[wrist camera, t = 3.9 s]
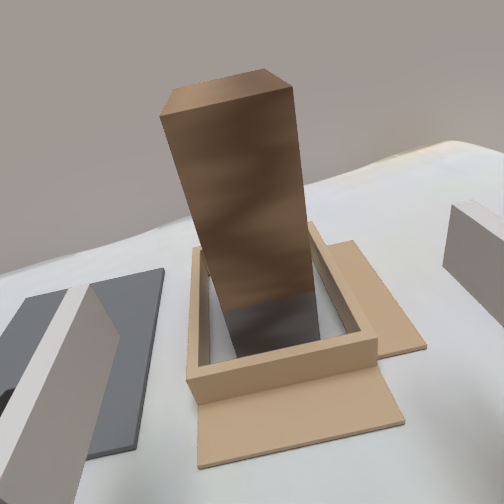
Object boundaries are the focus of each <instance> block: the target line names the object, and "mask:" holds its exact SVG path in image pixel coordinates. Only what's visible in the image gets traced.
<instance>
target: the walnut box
mask: <svg viewBox="0 0 504 504" xmlns="http://www.w3.org/2000/svg"><path fill="white" fill-rule="evenodd" d="M294 106H295V105H294V96H293V88H292V86H291V85H290V84H288V83H286V82H285V81H283V80H282V79H280V78H279V77H277V76H275V75H274V74H272V73H271V72H269V71H267V70H266V69H260V70H256V71H251V72H247V73H242V74H238V75H233V76H229V77H225V78H220V79H216V80H211V81H207V82H203V83H198V84H193V85H189V86H185V87H180V88H176V89H173V91H172V93H171V95H170V97H169V99H168V101H167V103H166V105H165V107H164V108H163V110H162V112H161V114H160V119H161V122H162V125H163V129H164V132H165V134H166V138H167V141H168V144H169V147H170V150H171V153H172V156H173V160H174V163H175V166H176V169H177V172H178V175H179V178H180V181H181V184H182V187H183V191H184V193H185V197H186V200H187V203H188V206H189V209H190V212H191V216H192V219H193V222H194V225H195V228H196V231H197V234H198V237H199V240H200V244H201V247H202V250H203V253H204V256H205V259H206V262H207V265H208V268H209V272H210V275H211V278H212V281H213V284H214V287H215V290H216V293H217V296H218V300H219V303H220V306H221V309H222V312H223V315H224V318H225V321H226V324H227V327H228V331H229V334H230V337H231V340H232V343H233V346H234V349H235V352H236V355H237V358H242V357H246V356H251V355H255V354H260V353H264V352H269V351H273V350H278V349H282V348H287V347H291V346H296V345H301V344H305V343H310V342H314V341H319V340H320V332H319V323H318V314H317V305H316V296H315V287H314V277H313V268H312V259H311V250H310V241H309V232H308V223H307V214H306V205H305V196H304V187H303V178H302V170H301V160H300V151H299V142H298V132H297V124H296V115H295V107H294Z"/></svg>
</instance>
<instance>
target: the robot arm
mask: <svg viewBox="0 0 504 504" xmlns="http://www.w3.org/2000/svg"><path fill="white" fill-rule="evenodd" d="M443 267H444V268H445V269H446V270H447V271H448V272H449V273H450V274H451V275H452V276H453V277H454V278H455V279H456V280H457V281H458V282H459V283H460V284H461V285H462V286H463V287H464V288H465V289H466V290H467V291H468V292H469V293H470V294H471V295H472V296H473V297H474V298H475V299H476V300H477V301H478V302H479V303H480V304H481V305H482V306H483V307H484V308H485V309H486V310H487V311H488V312H489V313H490V314H491V315H492V316H493V317H494V318H495V319H496V320H497V321H498V322H499V323H500V324H501V325H502V326H503V327H504V219H503V218H502V217H500V216H498V215H497V214H495V213H494V212H492V211H491V210H489V209H487V208H486V207H484V206H483V205H481V204H480V203H478V202H476V201H475V200H469V201H464V202H460V203H455V204H452V207H451V214H450V220H449V227H448V233H447V240H446V246H445V253H444V259H443ZM119 339H120V335H119V333H118V331H117V330H116V328H115V326H114V324H113V323H112V321H111V319H110V317H109V316H108V314H107V312H106V311H105V309H104V307H103V305H102V304H101V302H100V300H99V299H98V297H97V295H96V293H95V292H94V290H93V288H92V286H91V285H90V284H85V285H81V286H76V287H71V288H69V289H68V291H67V293H66V294H65V296H64V298H63V300H62V302H61V304H60V306H59V308H58V309H57V311H56V313H55V315H54V317H53V319H52V321H51V323H50V325H49V326H48V328H47V330H46V332H45V334H44V336H43V338H42V340H41V342H40V343H39V345H38V347H37V349H36V351H35V353H34V355H33V357H32V358H31V360H30V362H29V364H28V366H27V368H26V370H25V372H24V374H23V375H22V377H21V379H20V381H19V383H18V385H17V387H16V388H13V389H8V390H6V391H5V392H4V393H3V394H2V395H1V396H0V504H73V503H74V500H75V496H76V493H77V489H78V486H79V482H80V478H81V475H82V471H83V468H84V464H85V461H86V457H87V453H88V450H89V446H90V443H91V439H92V436H93V432H94V428H95V425H96V421H97V418H98V414H99V411H100V407H101V403H102V400H103V396H104V393H105V389H106V386H107V382H108V378H109V375H110V371H111V368H112V364H113V360H114V357H115V353H116V350H117V346H118V343H119Z"/></svg>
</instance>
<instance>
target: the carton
mask: <svg viewBox="0 0 504 504" xmlns="http://www.w3.org/2000/svg"><path fill="white" fill-rule="evenodd" d="M307 223H308V232H309V241H310V250H311V257H312V259H313V261H314V263H315V265H316V267H317V270H318V272H319V274H320V276H321V278H322V280H323V282H324V284H325V286H326V289H327V291H328V293H329V295H330V297H331V299H332V301H333V303H334V305H335V308H336V310H337V312H338V314H339V316H340V318H341V320H342V322H343V324H344V327H345V329H346V331H347V333H348V334H346V335H341V336H337V337H332V338H328V339H323V340H319V341H314V342H310V343H305V344H301V345H296V346H291V347H287V348H282V349H278V350H273V351H269V352H264V353H260V354H255V355H251V356H246V357H242V358H237V359H233V360H228V361H224V362H219V363H215V364H210V346H209V291H208V275H210V272H209V268H208V265H207V262H206V259H205V256H204V253H203V250H202V247H201V246H198V247H194V248H193V250H192V269H191V289H190V308H189V328H188V347H187V367H186V381H187V383H188V386H189V388H190V390H191V392H192V394H193V396H194V398H195V400H196V402H197V405H198V436H197V467H198V469H202V468H207V467H211V466H216V465H221V464H225V463H230V462H234V461H239V460H243V459H248V458H252V457H257V456H261V455H266V454H270V453H275V452H279V451H284V450H289V449H293V448H298V447H302V446H307V445H311V444H316V443H320V442H325V441H329V440H334V439H338V438H343V437H348V436H352V435H357V434H361V433H366V432H370V431H375V430H379V429H384V428H388V427H393V426H397V425H402V424H405V419H404V417H403V415H402V413H401V411H400V409H399V407H398V405H397V403H396V401H395V399H394V397H393V395H392V393H391V392H390V390H389V388H388V386H387V384H386V382H385V380H384V378H383V376H382V374H381V372H380V370H379V368H378V366H377V359H381V358H385V357H390V356H394V355H399V354H403V353H408V352H413V351H417V350H422V349H426V348H427V344H426V342H425V341H424V339H423V338H422V337H421V335H420V334H419V332H418V331H417V330H416V328H415V327H414V325H413V324H412V323H411V321H410V320H409V318H408V317H407V316H406V314H405V313H404V311H403V310H402V308H401V307H400V306H399V304H398V303H397V301H396V300H395V299H394V297H393V296H392V294H391V293H390V292H389V290H388V289H387V287H386V286H385V285H384V283H383V282H382V280H381V279H380V277H379V276H378V275H377V273H376V272H375V270H374V269H373V268H372V266H371V265H370V263H369V262H368V261H367V259H366V258H365V256H364V255H363V254H362V252H361V251H360V249H359V248H358V246H357V245H356V244H355V242H354V241H353V240H351V241H347V242H342V243H338V244H333V245H329V246H326V245H325V243H324V241H323V239H322V238H321V236H320V234H319V232H318V231H317V229H316V227H315V225H314V223H313V222H312V221H311V222H307Z"/></svg>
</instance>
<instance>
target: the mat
mask: <svg viewBox="0 0 504 504" xmlns="http://www.w3.org/2000/svg"><path fill="white" fill-rule="evenodd" d="M164 273H165V271H164V268H159V269H154V270H150V271H145V272H141V273H136V274H132V275H127V276H123V277H118V278H114V279H109V280H105V281H100V282H96V283H92V284H90V285H91V286H92V288H93V290H94V292H95V293H96V295H97V297H98V299H99V300H100V302H101V304H102V305H103V307H104V309H105V311H106V312H107V314H108V316H109V317H110V319H111V321H112V323H113V324H114V326H115V328H116V330H117V331H118V333H119V335H120V339H119V343H118V346H117V350H116V353H115V357H114V360H113V364H112V368H111V371H110V375H109V378H108V382H107V386H106V389H105V393H104V396H103V400H102V403H101V407H100V411H99V414H98V418H97V421H96V425H95V428H94V432H93V436H92V439H91V443H90V446H89V450H88V453H87V457H86V460H87V459H92V458H96V457H101V456H105V455H110V454H114V453H119V452H124V451H128V450H133V449H136V446H137V440H138V434H139V428H140V421H141V415H142V409H143V403H144V397H145V390H146V384H147V378H148V372H149V366H150V360H151V353H152V347H153V341H154V335H155V329H156V322H157V316H158V310H159V304H160V298H161V291H162V285H163V279H164ZM67 291H68V289H65V290H60V291H56V292H51V293H47V294H42V295H38V296H33V297H29V298H26V299H25V300H24V302H23V303H22V305H21V306H20V308H19V309H18V311H17V313H16V314H15V316H14V317H13V319H12V320H11V322H10V323H9V325H8V326H7V328H6V329H5V331H4V332H3V334H2V335H1V337H0V396H1V395H2V394H3V393H4V392H5V391H6V390H8V389H13V388H16V387H17V385H18V383H19V381H20V379H21V377H22V375H23V374H24V372H25V370H26V368H27V366H28V364H29V362H30V360H31V358H32V357H33V355H34V353H35V351H36V349H37V347H38V345H39V343H40V342H41V340H42V338H43V336H44V334H45V332H46V330H47V328H48V326H49V325H50V323H51V321H52V319H53V317H54V315H55V313H56V311H57V309H58V308H59V306H60V304H61V302H62V300H63V298H64V296H65V294H66V293H67Z"/></svg>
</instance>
